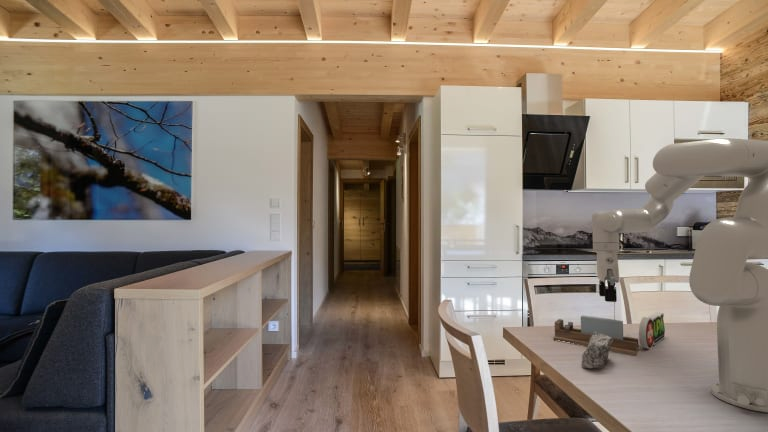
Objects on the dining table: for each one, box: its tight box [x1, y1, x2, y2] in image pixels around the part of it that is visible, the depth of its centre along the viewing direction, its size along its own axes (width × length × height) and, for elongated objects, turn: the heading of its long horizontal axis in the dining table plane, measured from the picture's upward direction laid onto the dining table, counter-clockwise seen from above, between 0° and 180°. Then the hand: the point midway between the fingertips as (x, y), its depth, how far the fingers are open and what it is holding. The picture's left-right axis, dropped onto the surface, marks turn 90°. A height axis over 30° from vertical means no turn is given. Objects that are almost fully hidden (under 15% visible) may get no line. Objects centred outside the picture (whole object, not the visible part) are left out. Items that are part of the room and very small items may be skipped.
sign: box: [638, 311, 666, 350], centre depth 122 cm, size 22×2×10 cm, turn 129°
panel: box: [580, 314, 624, 340], centre depth 121 cm, size 2×12×8 cm, turn 48°
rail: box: [553, 318, 640, 357], centre depth 122 cm, size 9×24×6 cm, turn 49°
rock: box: [581, 332, 613, 369], centre depth 104 cm, size 16×8×10 cm, turn 128°
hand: (607, 298), depth 120 cm, fingers open, 9 cm apart
